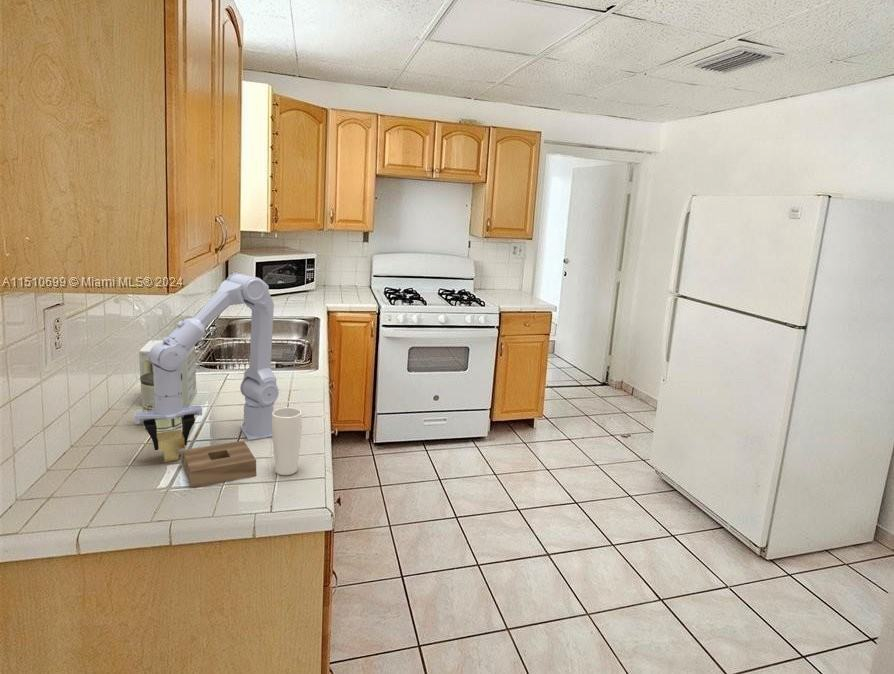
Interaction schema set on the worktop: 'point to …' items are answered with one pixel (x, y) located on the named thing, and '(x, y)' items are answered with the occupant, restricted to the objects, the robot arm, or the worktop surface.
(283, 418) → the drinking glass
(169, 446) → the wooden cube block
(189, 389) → the supplement box
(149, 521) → the worktop surface
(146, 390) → the coffee can
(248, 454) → the brown wooden block
